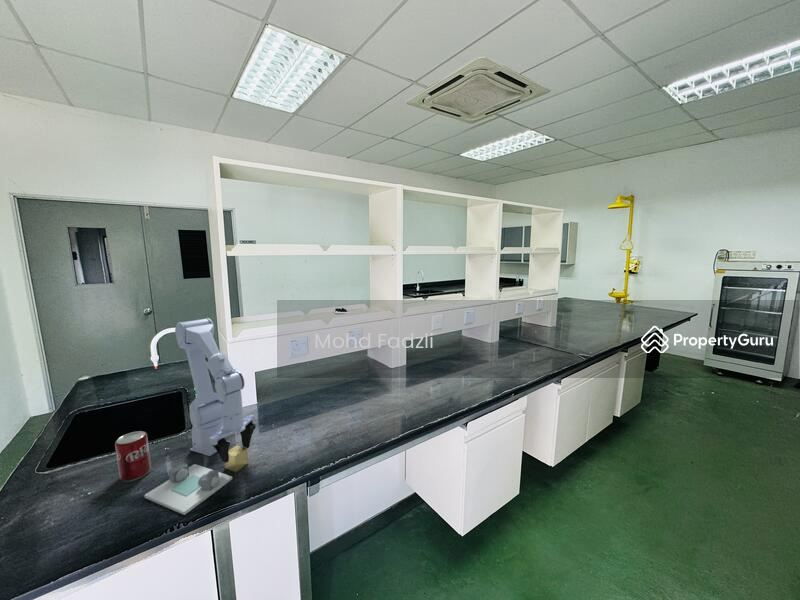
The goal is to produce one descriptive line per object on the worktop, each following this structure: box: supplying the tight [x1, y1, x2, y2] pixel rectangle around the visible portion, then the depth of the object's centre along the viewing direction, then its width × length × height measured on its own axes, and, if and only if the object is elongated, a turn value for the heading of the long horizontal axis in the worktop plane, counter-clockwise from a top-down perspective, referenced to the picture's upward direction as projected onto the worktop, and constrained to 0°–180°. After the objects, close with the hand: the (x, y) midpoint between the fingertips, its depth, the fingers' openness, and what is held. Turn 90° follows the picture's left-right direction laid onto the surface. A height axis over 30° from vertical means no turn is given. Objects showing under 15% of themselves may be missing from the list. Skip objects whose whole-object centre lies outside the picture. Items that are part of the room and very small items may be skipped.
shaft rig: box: [143, 462, 233, 516], centre depth 89 cm, size 16×14×4 cm
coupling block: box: [224, 445, 249, 473], centre depth 98 cm, size 4×4×5 cm
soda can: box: [114, 430, 152, 483], centre depth 94 cm, size 7×7×12 cm
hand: (236, 454), depth 98 cm, fingers open, 7 cm apart
